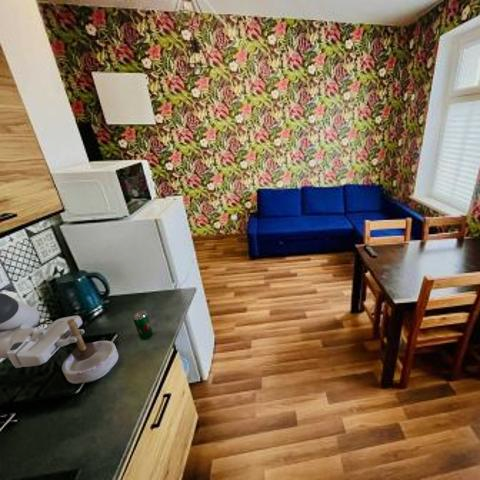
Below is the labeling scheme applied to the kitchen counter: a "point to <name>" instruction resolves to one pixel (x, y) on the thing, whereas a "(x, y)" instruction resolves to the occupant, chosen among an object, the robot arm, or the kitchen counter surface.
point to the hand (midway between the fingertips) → (79, 335)
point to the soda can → (143, 325)
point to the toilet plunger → (80, 344)
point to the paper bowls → (91, 364)
